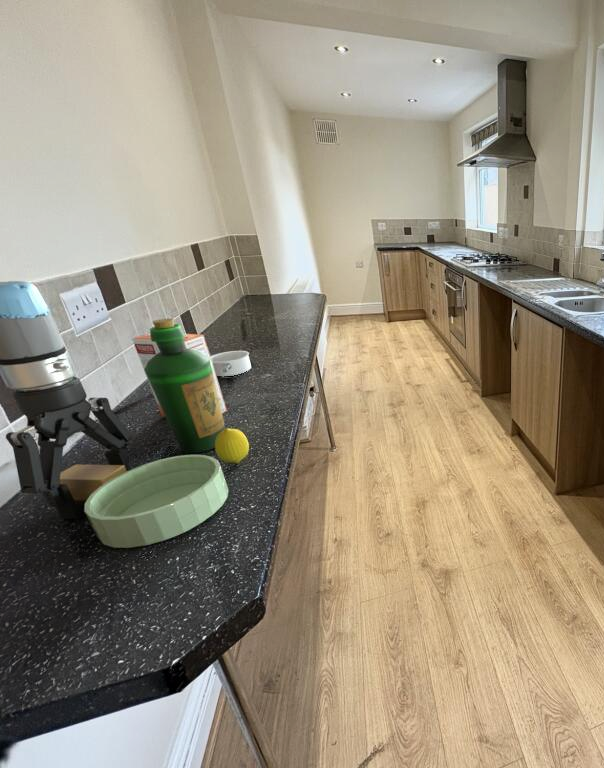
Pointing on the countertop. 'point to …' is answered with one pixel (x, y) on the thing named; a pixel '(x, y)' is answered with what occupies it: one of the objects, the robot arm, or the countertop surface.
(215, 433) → the bottle
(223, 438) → the lemon
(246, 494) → the countertop surface
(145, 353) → the cracker box
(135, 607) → the countertop surface
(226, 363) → the saucepan
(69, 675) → the countertop surface
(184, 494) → the bowl
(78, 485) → the wooden block
